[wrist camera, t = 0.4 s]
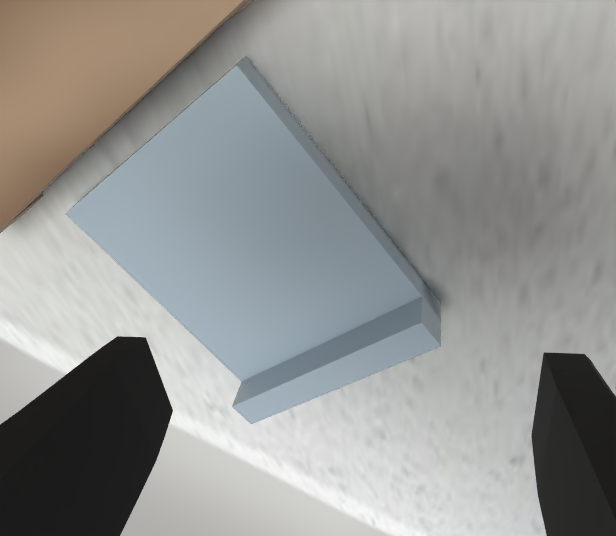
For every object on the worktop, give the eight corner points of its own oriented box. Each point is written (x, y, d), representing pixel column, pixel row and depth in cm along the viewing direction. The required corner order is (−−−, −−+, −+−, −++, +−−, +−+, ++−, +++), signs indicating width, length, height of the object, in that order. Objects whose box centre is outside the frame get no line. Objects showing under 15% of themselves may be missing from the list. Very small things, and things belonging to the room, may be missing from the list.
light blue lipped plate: (440, 298, 21) (440, 346, 19) (266, 378, 25) (251, 424, 23) (247, 54, 17) (221, 79, 15) (81, 198, 21) (43, 233, 19)
